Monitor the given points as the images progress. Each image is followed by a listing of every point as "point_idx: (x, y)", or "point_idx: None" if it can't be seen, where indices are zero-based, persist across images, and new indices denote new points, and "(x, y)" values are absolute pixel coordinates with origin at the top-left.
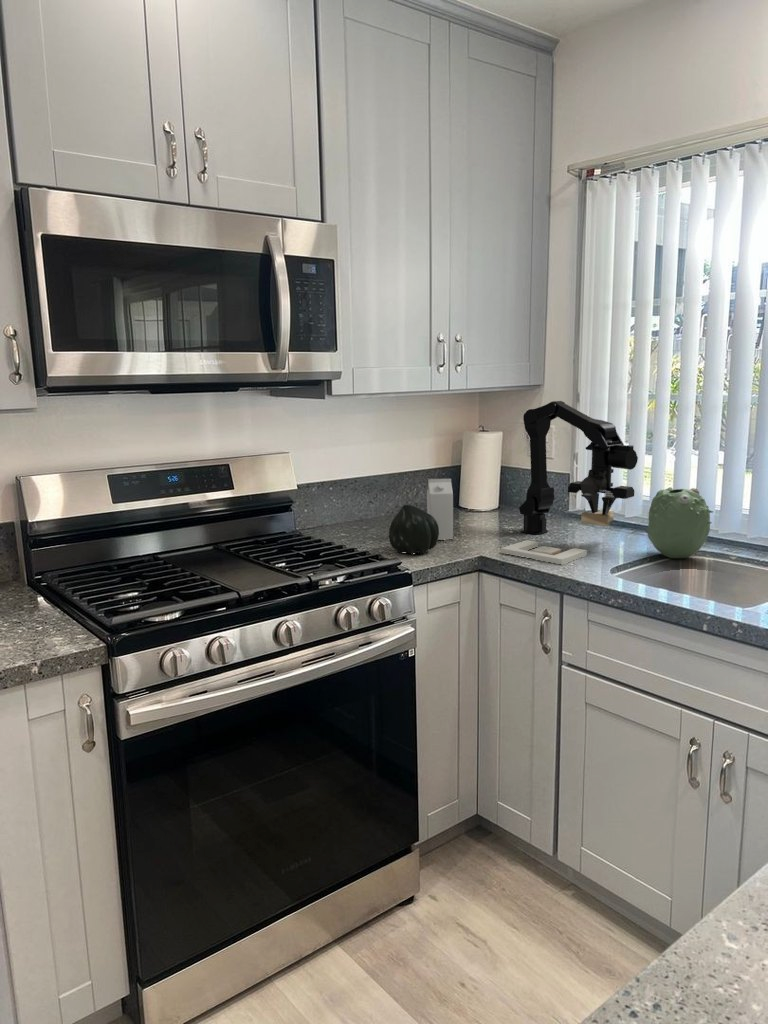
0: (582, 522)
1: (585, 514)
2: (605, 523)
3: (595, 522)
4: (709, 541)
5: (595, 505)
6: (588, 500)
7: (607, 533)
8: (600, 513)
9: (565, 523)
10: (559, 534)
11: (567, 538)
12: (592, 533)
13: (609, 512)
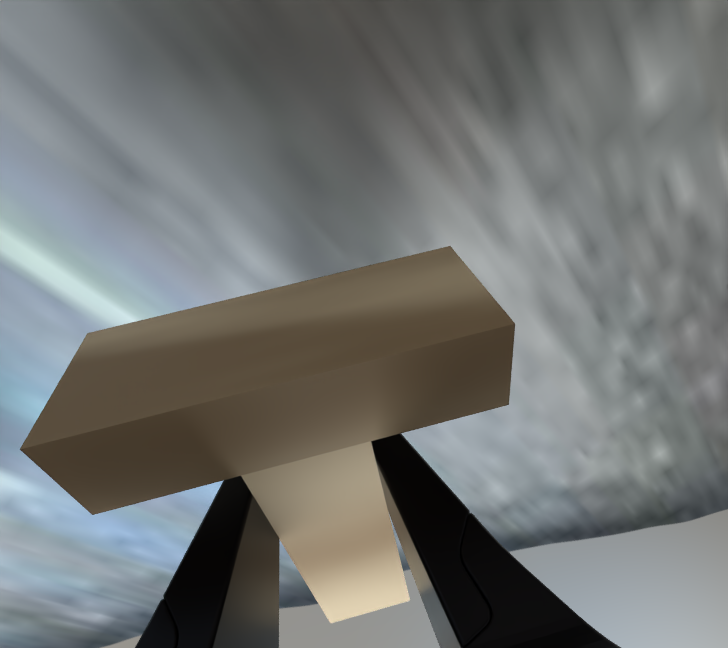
0: (435, 253)
1: (433, 331)
2: (82, 358)
3: (245, 315)
4: (92, 642)
5: (425, 588)
6: (567, 642)
7: (453, 474)
8: (291, 492)
9: (683, 450)
10: (647, 302)
11: (569, 268)
12: (507, 432)
13: (308, 576)
